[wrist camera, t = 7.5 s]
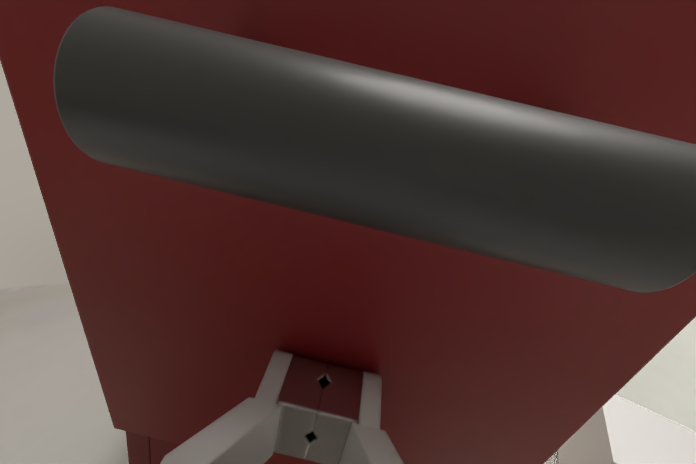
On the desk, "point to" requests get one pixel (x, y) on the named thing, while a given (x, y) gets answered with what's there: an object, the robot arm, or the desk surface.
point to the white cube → (629, 438)
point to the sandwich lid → (368, 202)
